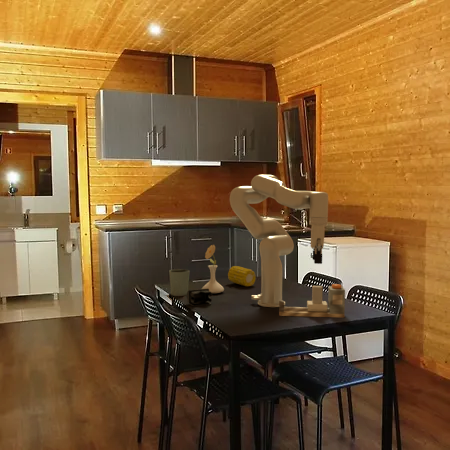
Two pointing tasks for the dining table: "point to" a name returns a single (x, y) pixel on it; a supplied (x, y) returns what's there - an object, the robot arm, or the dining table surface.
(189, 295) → the end cap
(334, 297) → the rail base
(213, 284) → the flower in vase
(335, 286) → the button
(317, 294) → the carriage
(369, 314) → the dining table surface
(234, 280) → the food
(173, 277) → the green tapered cup
